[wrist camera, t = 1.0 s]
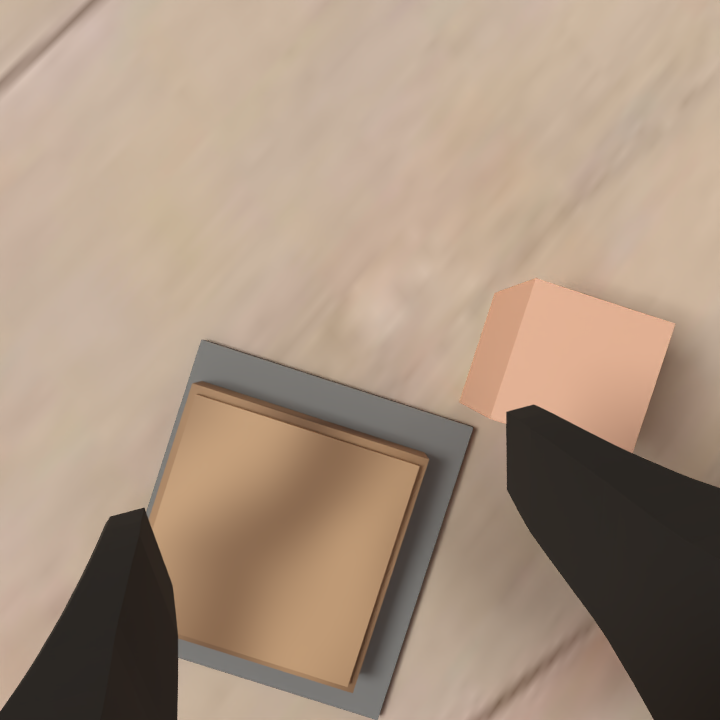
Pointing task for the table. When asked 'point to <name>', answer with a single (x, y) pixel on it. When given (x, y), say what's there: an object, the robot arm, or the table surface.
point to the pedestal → (281, 532)
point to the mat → (445, 456)
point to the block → (568, 360)
